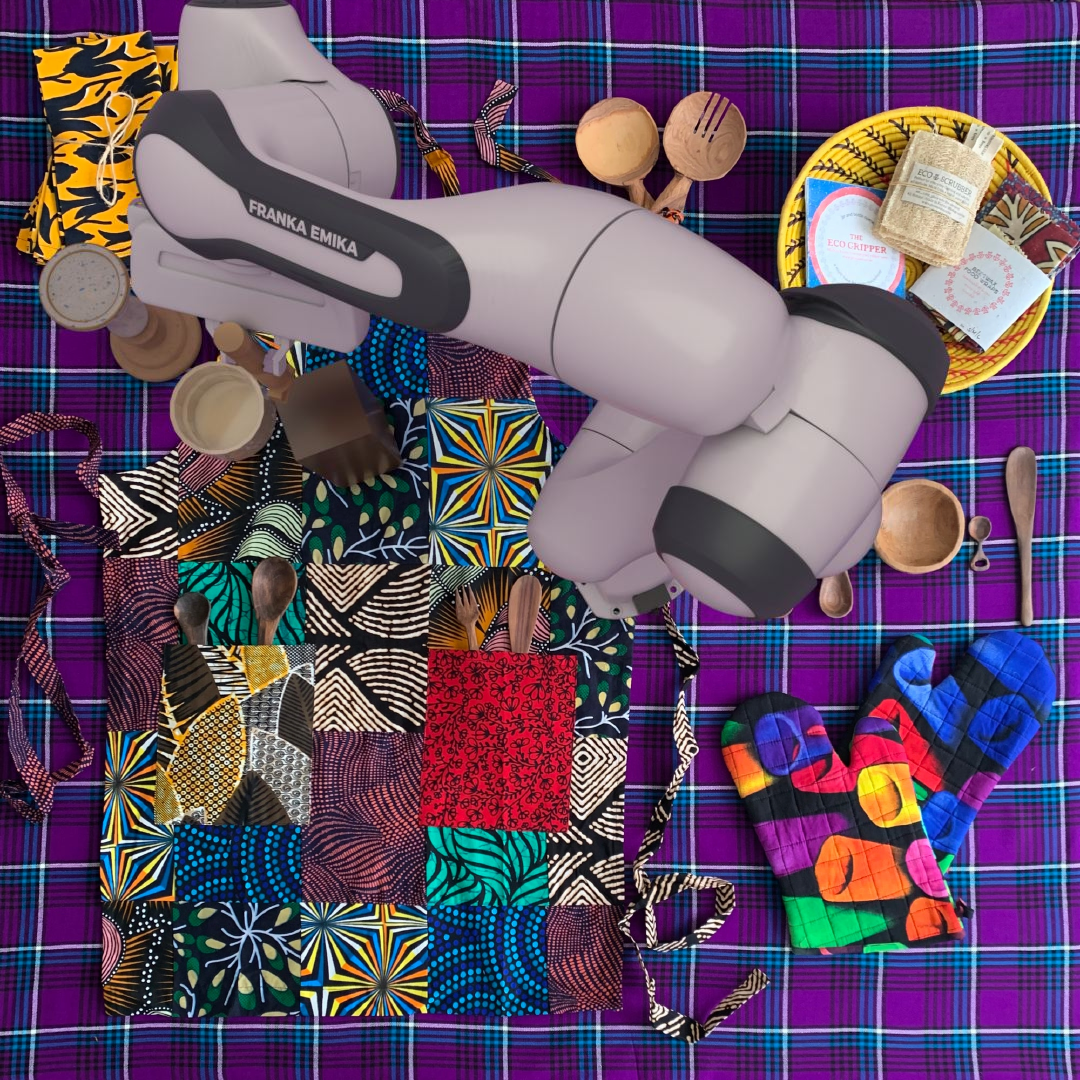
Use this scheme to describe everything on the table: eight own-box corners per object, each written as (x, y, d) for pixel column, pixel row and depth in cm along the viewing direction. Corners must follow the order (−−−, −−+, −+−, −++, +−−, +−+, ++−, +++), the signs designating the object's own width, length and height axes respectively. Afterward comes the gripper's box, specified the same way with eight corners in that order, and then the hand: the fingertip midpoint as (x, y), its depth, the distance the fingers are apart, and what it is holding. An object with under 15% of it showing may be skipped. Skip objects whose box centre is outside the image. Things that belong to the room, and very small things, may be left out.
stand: (404, 465, 123) (372, 432, 101) (341, 489, 122) (295, 461, 100) (381, 404, 123) (344, 358, 101) (319, 427, 123) (268, 386, 101)
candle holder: (221, 345, 124) (157, 293, 104) (148, 401, 124) (70, 359, 104) (167, 277, 125) (94, 212, 105) (95, 332, 125) (8, 277, 105)
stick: (277, 364, 92) (219, 312, 76) (302, 370, 92) (249, 319, 76) (267, 398, 91) (207, 353, 75) (292, 405, 91) (237, 361, 75)
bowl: (290, 443, 123) (276, 434, 117) (205, 475, 123) (187, 467, 117) (260, 360, 124) (245, 347, 118) (176, 392, 124) (157, 380, 118)
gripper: (103, 202, 71) (126, 355, 80) (354, 263, 71) (349, 411, 80) (144, 176, 76) (161, 323, 85) (380, 233, 76) (372, 376, 85)
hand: (254, 366), depth 82 cm, fingers closed on stick, 2 cm apart
